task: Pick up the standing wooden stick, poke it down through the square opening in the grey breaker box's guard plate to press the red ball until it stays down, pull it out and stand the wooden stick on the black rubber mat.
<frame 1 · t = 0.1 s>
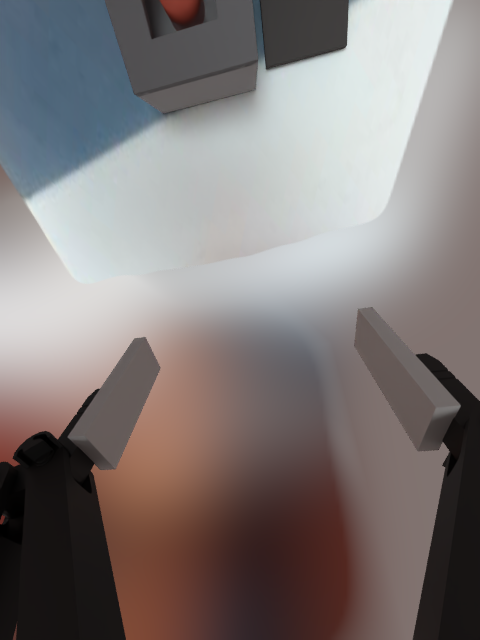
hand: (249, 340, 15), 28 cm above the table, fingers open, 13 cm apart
breaker box: (194, 31, 26), on the table
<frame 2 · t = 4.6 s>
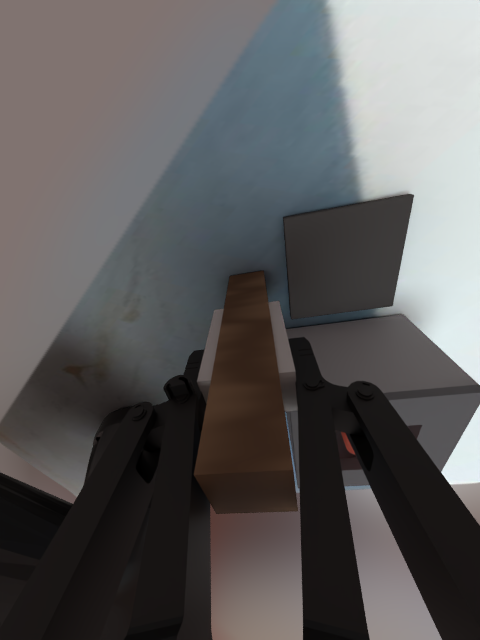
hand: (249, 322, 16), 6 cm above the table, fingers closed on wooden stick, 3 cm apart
wooden stick: (249, 288, 21), on the table, touching gripper
mat: (341, 264, 20), on the table
red ball: (358, 419, 21), point 6 cm above the table, slide at 0.0 cm
breaker box: (335, 367, 26), on the table
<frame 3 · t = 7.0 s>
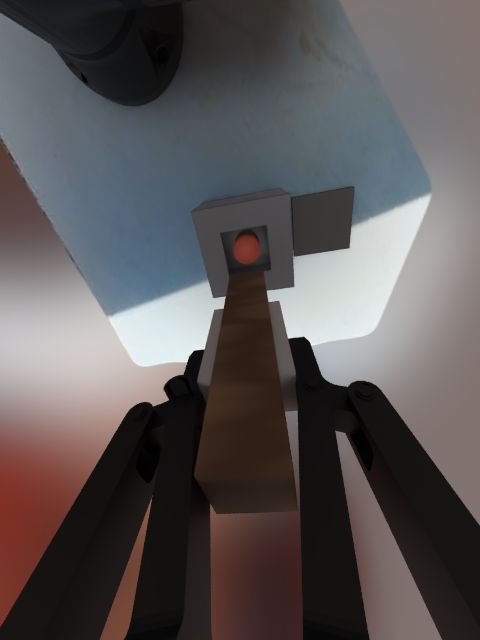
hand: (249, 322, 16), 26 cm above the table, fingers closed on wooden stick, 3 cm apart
wooden stick: (249, 288, 21), point 21 cm above the table, touching gripper
mat: (321, 223, 37), on the table
red ball: (246, 246, 33), point 6 cm above the table, slide at 0.0 cm
breaker box: (247, 235, 39), on the table
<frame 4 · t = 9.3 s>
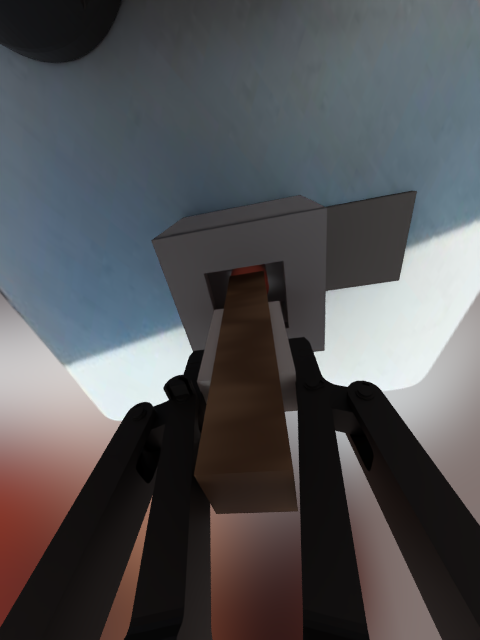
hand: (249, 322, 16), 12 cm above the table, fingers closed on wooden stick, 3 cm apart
wooden stick: (249, 288, 21), point 6 cm above the table, touching gripper, red ball
mat: (359, 246, 25), on the table
red ball: (249, 278, 23), point 4 cm above the table, slide at 2.3 cm, touching wooden stick
breaker box: (248, 264, 27), on the table
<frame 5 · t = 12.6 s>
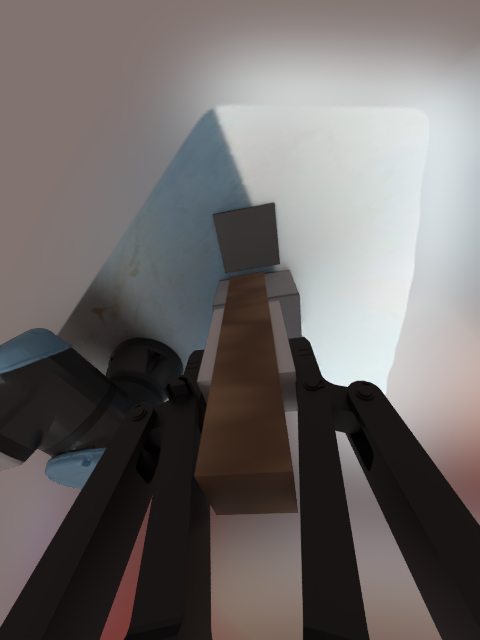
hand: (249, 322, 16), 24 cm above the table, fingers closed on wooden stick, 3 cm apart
wooden stick: (249, 289, 21), point 18 cm above the table, touching gripper
mat: (248, 239, 36), on the table
breaker box: (258, 306, 43), on the table
when the fingers open (7 cm above the table, at t = 15.6 s): wooden stick stays where it is, resting on mat.
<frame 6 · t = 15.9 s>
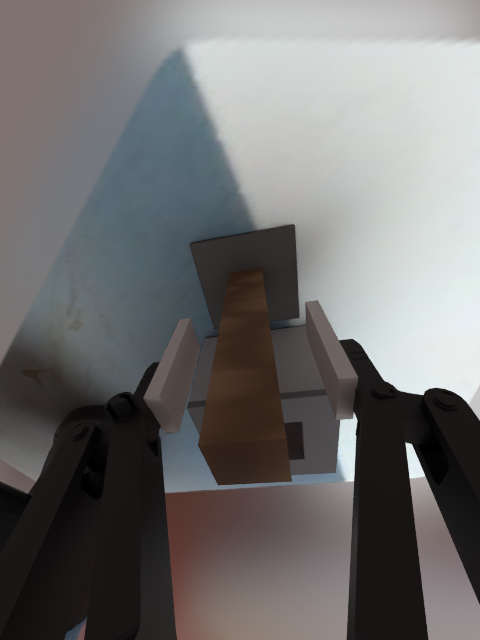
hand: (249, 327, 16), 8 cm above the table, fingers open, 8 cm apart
wooden stick: (248, 285, 22), point 1 cm above the table, touching mat
mat: (249, 281, 23), on the table
breaker box: (264, 370, 29), on the table
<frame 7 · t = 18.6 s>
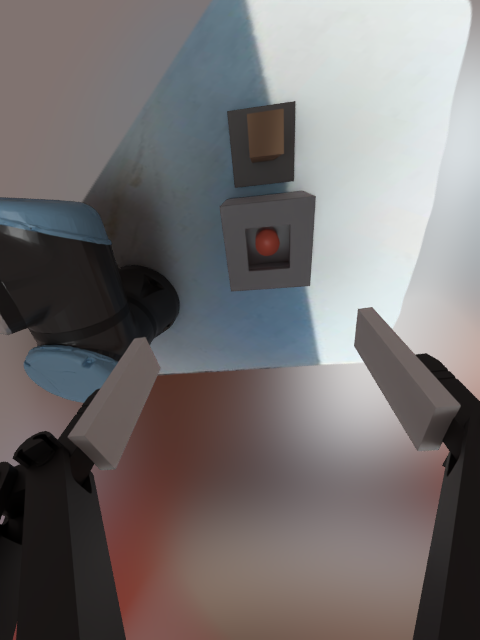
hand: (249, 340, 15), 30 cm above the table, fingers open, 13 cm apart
wooden stick: (261, 148, 33), point 1 cm above the table, touching mat
mat: (262, 148, 34), on the table
red ball: (266, 240, 37), point 4 cm above the table, slide at 2.3 cm
breaker box: (265, 234, 40), on the table
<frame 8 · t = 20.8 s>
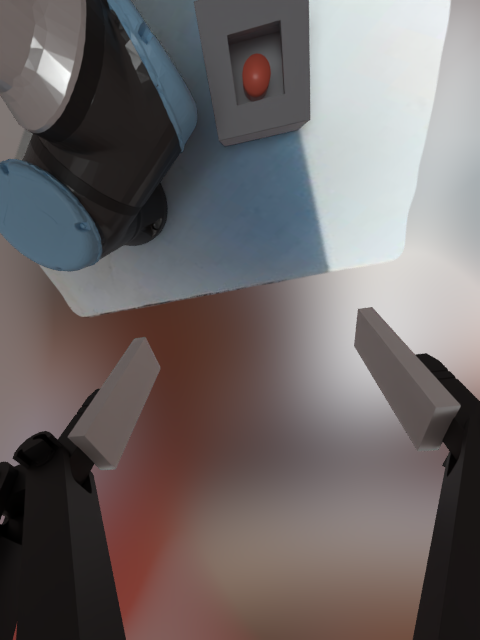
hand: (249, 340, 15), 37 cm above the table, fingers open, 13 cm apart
red ball: (256, 79, 32), point 4 cm above the table, slide at 2.3 cm
breaker box: (255, 88, 35), on the table
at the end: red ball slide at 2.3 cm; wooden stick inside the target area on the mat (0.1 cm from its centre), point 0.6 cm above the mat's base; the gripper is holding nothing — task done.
